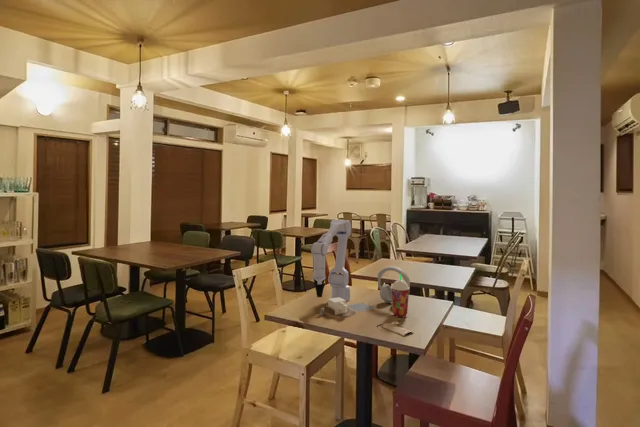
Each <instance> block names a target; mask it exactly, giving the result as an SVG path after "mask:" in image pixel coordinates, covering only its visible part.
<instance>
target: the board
mask: <svg viewBox="0 0 640 427" xmlns="http://www.w3.org/2000/svg"><path fill="white" fill-rule="evenodd" d="M348 308H351V309H353V310H355V312H359V313H362V312H365V311H370V310H374V309H376V307H373V306H371V305H369V304H366V303H364V302H360V303H359V302H358V303H353V304H349V305H348Z"/></svg>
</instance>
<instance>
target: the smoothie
mask: <svg viewBox="0 0 640 427" xmlns="http://www.w3.org/2000/svg"><path fill="white" fill-rule="evenodd" d="M391 288H392V302H391V304H392V306H391V307H392V314H393V315H394V317H396V316H397V318H404V316H405V317H406V316H407V314H408V307H409V296H410V289H409V287H408V284H407V283H406V282H405V280H404V279H402V276H401V274H399V279H396V280H394V282H393V284H392V286H391Z"/></svg>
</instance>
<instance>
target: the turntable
mask: <svg viewBox="0 0 640 427" xmlns="http://www.w3.org/2000/svg"><path fill="white" fill-rule="evenodd" d="M356 312H357V311H356V310H354V309H352V308H349V307H348V312H347V313H342V314H336V315H335V310H333V309H331V308H329V307H328V305H325V306H324V307H320V309H318V314H319V315H320V317H321V316H322V317H323V318H327V319H328V318H329V319H335V320H336V319H337V320H338V319H347V318H351V317H353V316H355V315H356Z"/></svg>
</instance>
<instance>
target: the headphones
mask: <svg viewBox="0 0 640 427" xmlns="http://www.w3.org/2000/svg"><path fill="white" fill-rule="evenodd" d="M388 271H394V272H396V273H398V274H399V275H400V274H401V278H403V279H402V280H403V281H405V282H406V283H407V284H408V287H409V290H410V287H411V284H410V280H411V279H410V277H409V275H408V273H406V271H405V270H403V269H402V268H400V267H398V266H393V265H390V266H386V267H383V268H382V269H381V270H380V271H379V272H378V274H377V286H378V287H379V288H378V289H379V296H380V299H381V300H383V302H385V303H386V304H390V303H392V286H390V285H389V284H387V283H385V284H382V286H381V281H382V280H381V279H382V277H383V275H384V274H385V273H386V272H388Z"/></svg>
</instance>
